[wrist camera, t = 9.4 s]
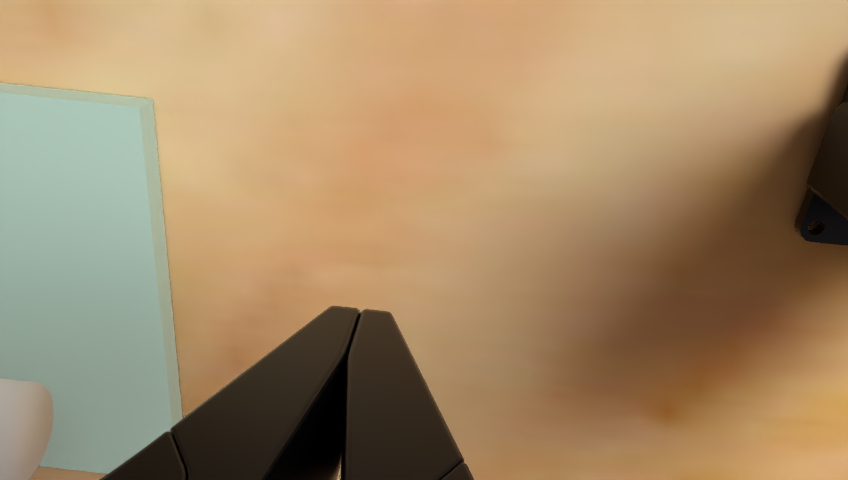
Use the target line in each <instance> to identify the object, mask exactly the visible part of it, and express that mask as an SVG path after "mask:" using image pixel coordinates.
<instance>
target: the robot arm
mask: <svg viewBox="0 0 848 480" xmlns="http://www.w3.org/2000/svg"><path fill="white" fill-rule="evenodd" d="M807 184H808V185H809V188H808V190H807V193H806V195H805V198H804V200H803V203H802V206H801V208H800V211H799V213H798V216H797V219H796V221H795V229H796V231H797V232H798V233H799V234H800V235H801V236H802V237H803V238H804V239H805V240H807V241H811V242H819V243H828V244H838V245H847V246H848V86H847V89H846V92H845V94H844V97H843V99H842V102H841V104H840V105H839V106H838V107H837V108H836V109H835V110H834V112H833V114H832V117H831V120H830V122H829V125H828V127H827V130H826V133H825V135H824V138H823V140H822V143H821V146H820V148H819V151H818V154H817V156H816V159H815V161H814V164H813V167H812V169H811V172H810V174H809V177H808V180H807ZM815 221H819V224H818V225H817V226H816V227H815V228H813V229H810V230H808V227H809V226H810V224H811V223H813V222H815ZM340 464H341V478H340V480H474V478H473V476H472V474H471V472H470V470H469V468H468V466H467V465H466V464H465V463H464V459H463V457H462V455H461V453H460V451H459V449H458V447H457V445H456V443H455V441H454V439H453V437H452V435H451V433H450V431H449V428H448V426H447V424H446V422H445V420H444V418H443V416H442V414H441V412H440V410H439V408H438V406H437V404H436V402H435V400H434V398H433V396H432V394H431V392H430V390H429V388H428V386H427V384H426V382H425V380H424V378H423V376H422V374H421V372H420V370H419V368H418V366H417V364H416V362H415V360H414V358H413V356H412V354H411V352H410V350H409V348H408V346H407V344H406V342H405V340H404V338H403V336H402V334H401V332H400V330H399V328H398V325H397V323H396V321H395V319H394V317H393V316H392V314H391V313H390V312H387V311H378V310H369V309H366V310H363V311H362V312H361V313H360V311H359V310H358V309H356V308H350V307H340V306H331V307H329V308H328V309H326V310H325V311H324V312H323V313H321V314H320V315H319V316H317V317H316V318H315V319H313V320H312V321H311V322H309V323H308V324H307V325H305V326H304V327H303V328H301V329H300V330H299V331H298V332H296V333H295V334H294V335H292V336H291V337H290V338H288V339H287V340H286V341H284V342H283V343H282V344H280V345H279V346H278V347H276V348H275V349H274V350H273V351H271V352H270V353H269V354H267V355H266V356H265V357H263V358H262V359H261V360H259V361H258V362H257V363H255V364H254V365H253V366H251V367H250V368H249V369H247V370H246V371H245V372H244V373H242V374H241V375H240V376H238V377H237V378H236V379H234V380H233V381H232V382H230V383H229V384H228V385H226V386H225V387H224V388H222V389H221V390H220V391H219V392H217V393H216V394H215V395H213V396H212V397H211V398H209V399H208V400H207V401H205V402H204V403H203V404H201V405H200V406H199V407H197V408H196V409H195V410H194V411H192V412H191V413H190V414H188V415H187V416H186V417H184V418H183V419H182V420H180V421H179V422H178V423H176V424H175V425H174V426H172V427H171V429H170V432H169V431H166V432H164V433H163V434H162V435H160V436H159V437H158V438H156V439H155V440H154V441H152V442H151V443H150V444H148V445H147V446H146V447H144V448H143V449H142V450H140V451H139V452H138V453H136V454H135V455H133V456H132V457H131V458H129V459H128V460H126V461H125V462H124V463H122V464H121V465H119V466H118V467H117V468H115V469H114V470H113V471H111V472H110V473H108V474H107V475H105V476H104V477H102V478H101V479H99V480H336V479H337V476H338V472H339V469H340Z"/></svg>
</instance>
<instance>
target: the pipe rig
mask: <svg viewBox="0 0 848 480" xmlns="http://www.w3.org/2000/svg"><path fill="white" fill-rule="evenodd" d="M182 419H183V416H182V405H181V395H180V384H179V373H178V363H177V352H176V341H175V331H174V320H173V309H172V299H171V288H170V278H169V267H168V256H167V246H166V235H165V224H164V214H163V203H162V192H161V182H160V171H159V161H158V150H157V139H156V129H155V118H154V107H153V99H149V98H140V97H130V96H121V95H112V94H102V93H93V92H84V91H74V90H65V89H55V88H46V87H37V86H27V85H18V84H9V83H0V480H29V478H30V477H31V476H32V475H33V473H34V472H35V470H36V469H37V467H38V466H41V467H50V468H59V469H68V470H77V471H86V472H95V473H104V474H108V473H110V472H111V471H113V470H114V469H115V468H117V467H118V466H119V465H121V464H122V463H124V462H125V461H126V460H128V459H129V458H131V457H132V456H133V455H135V454H136V453H138V452H139V451H140V450H142V449H143V448H144V447H146V446H147V445H148V444H150V443H151V442H152V441H154V440H155V439H156V438H158V437H159V436H160V435H162V434H163V433H164V432H166V431H169V432H170V429H171V427H172V426H174V425H175V424H176V423H178V422H179V421H180V420H182Z"/></svg>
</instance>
